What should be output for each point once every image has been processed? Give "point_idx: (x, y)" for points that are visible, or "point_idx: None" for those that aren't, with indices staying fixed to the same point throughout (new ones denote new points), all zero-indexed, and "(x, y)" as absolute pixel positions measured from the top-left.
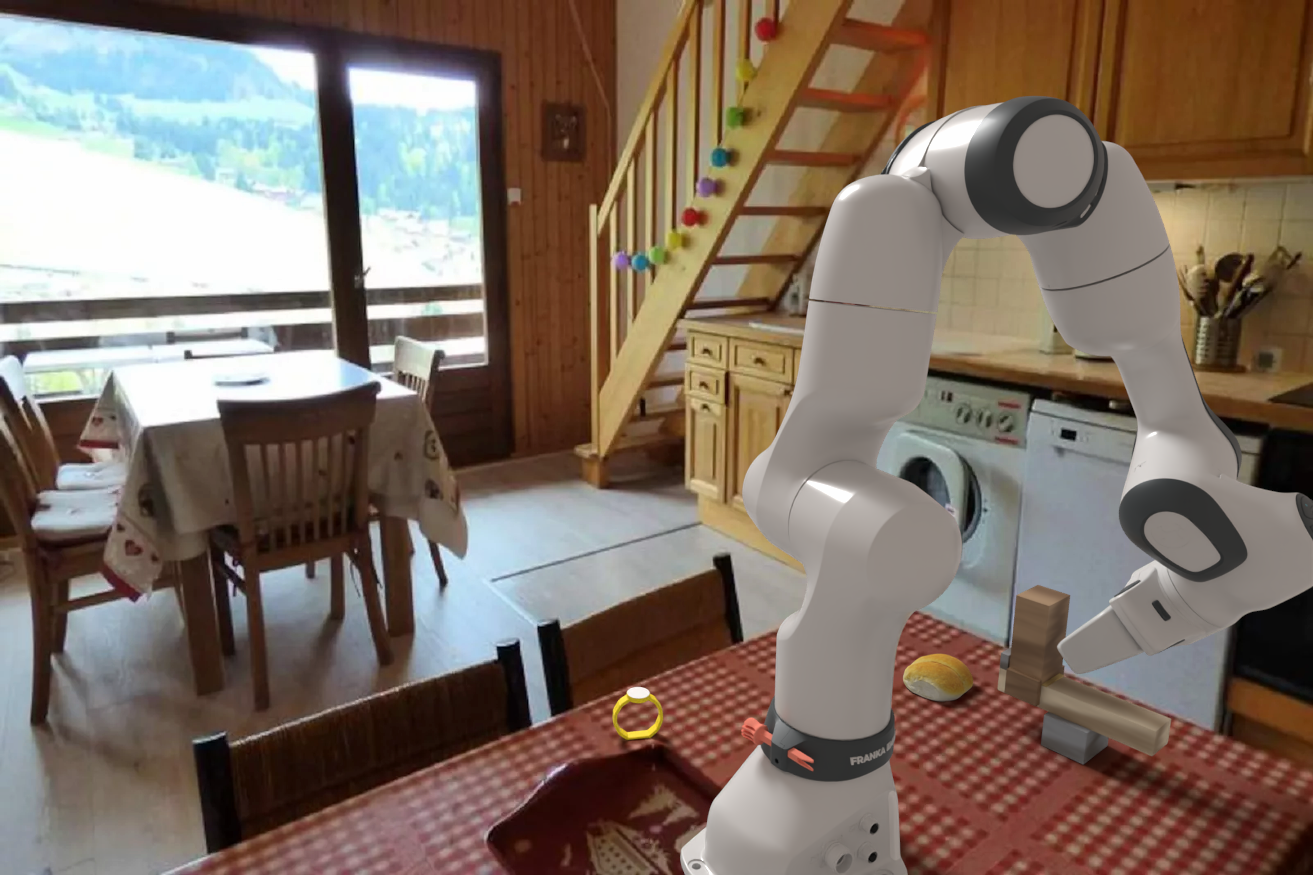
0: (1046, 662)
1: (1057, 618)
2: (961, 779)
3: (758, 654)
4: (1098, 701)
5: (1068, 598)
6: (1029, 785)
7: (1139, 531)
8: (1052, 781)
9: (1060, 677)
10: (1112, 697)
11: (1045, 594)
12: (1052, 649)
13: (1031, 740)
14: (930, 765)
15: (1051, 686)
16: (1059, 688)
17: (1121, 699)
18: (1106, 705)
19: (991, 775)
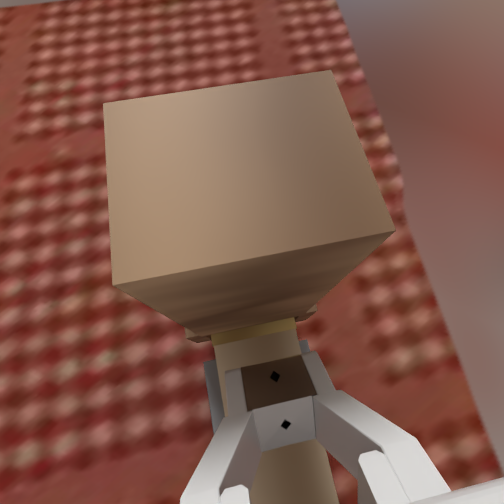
0: (212, 326)
1: (253, 287)
2: (13, 371)
3: (65, 20)
4: (267, 468)
5: (369, 240)
6: (88, 442)
7: None
8: (132, 454)
9: (278, 332)
10: (321, 471)
11: (256, 161)
12: (240, 315)
13: (210, 343)
14: (10, 318)
15: (225, 350)
16: (235, 366)
17: (333, 494)
18: (269, 496)
19: (63, 387)
